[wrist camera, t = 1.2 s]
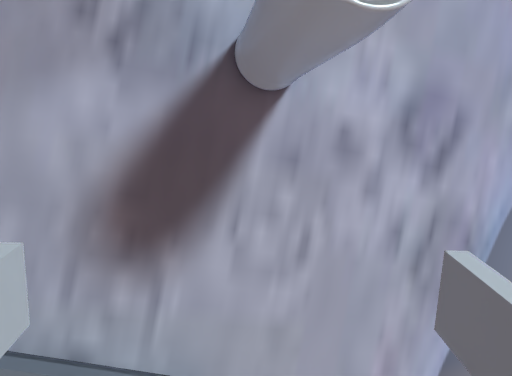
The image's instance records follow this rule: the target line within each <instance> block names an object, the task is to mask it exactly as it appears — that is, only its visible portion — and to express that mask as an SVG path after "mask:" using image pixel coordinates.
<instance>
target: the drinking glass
mask: <svg viewBox="0 0 512 376" xmlns="http://www.w3.org/2000/svg"><path fill="white" fill-rule="evenodd" d="M411 1H412V0H255V2H254V5H253V7H252V10H251V12H250V14H249V17H248V19H247V21H246V24H245V26H244V28H243V30H242V31H241V33H240V35H239V36H238V39H237V41H236V45H235V60H236V64H237V66H238V69H239V71H240V72H241V74H242V75H243V77H244V78H245V79H246V80H247V81H248V82H249V83H251V84H252V85H254V86H256V87H258V88H260V89H263V90H270V91H272V90H280V89H283V88H285V87H287V86H289V85H291V84H292V83H293V82H294V81H296V80H297V79H298V78H299V77H301V76H303V75H304V74H306V73H308V72H309V71H311V70H313V69H315V68H316V67H318V66H320V65H321V64H323V63H325V62H327V61H328V60H330V59H332V58H333V57H335V56H337V55H339V54H340V53H342V52H344V51H346V50H347V49H349V48H351V47H352V46H354V45H356V44H357V43H359V42H360V41H362V40H363V39H365V38H367V37H368V36H369V35H371V34H372V33H374V32H375V31H376V30H378V29H379V28H380V27H381V26H383V25H384V24H385V23H386V22H388V21H389V20H390V19H391V18H393V17H394V16H395V15H396V14H397V13H398V12H399V11H401V10H402V9H403V8H404V7H405V6H406V5H407V4H408V3H409V2H411Z"/></svg>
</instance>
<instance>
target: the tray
mask: <svg viewBox="0 0 512 376" xmlns="http://www.w3.org/2000/svg"><path fill="white" fill-rule="evenodd" d="M0 376H168V375H161V374H154V373H148V372H141V371H135V370H128V369H122V368H115V367H109V366H102V365H96V364H89V363H83V362H76V361H69V360H63V359H56V358H50V357H43V356H37V355H30V354H24V353H17V352H11V351H7V352H6V353H5V354H4V355H3V356H2V357H1V358H0Z"/></svg>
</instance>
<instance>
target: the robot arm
mask: <svg viewBox="0 0 512 376" xmlns="http://www.w3.org/2000/svg"><path fill="white" fill-rule="evenodd" d="M29 325H30V319H29V307H28V295H27V282H26V270H25V257H24V245H23V243H17V242H0V358H1V357H2V356H3V355H4V354H5V353H6V352H7V350H8V349H9V348H10V347H11V346H12V345H13V344H14V342H15V341H16V340H17V339H18V338H19V337H20V336H21V334H22V333H23V332H24V331H25V330H26V329H27V328H28V326H29ZM434 330H435V331H436V332H437V333H438V335H439V336H440V337H441V338H442V340H443V341H444V342H445V343H446V345H447V346H448V347H449V348H450V349H451V351H452V352H453V353H454V354H455V356H456V357H457V358H458V359H459V361H460V362H461V363H462V364H463V366H464V367H465V368H466V369H467V371H468V372H469V373H470V374H471V376H512V282H511V281H509V280H508V279H506V278H505V277H504V276H502V275H501V274H499V273H498V272H497V271H495V270H494V269H492V268H491V267H490V266H488V265H487V264H485V263H484V262H483V261H481V260H480V259H478V258H477V257H476V256H474V255H473V254H472V253H470V252H469V251H444V259H443V266H442V274H441V282H440V290H439V297H438V305H437V313H436V321H435V328H434Z"/></svg>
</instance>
